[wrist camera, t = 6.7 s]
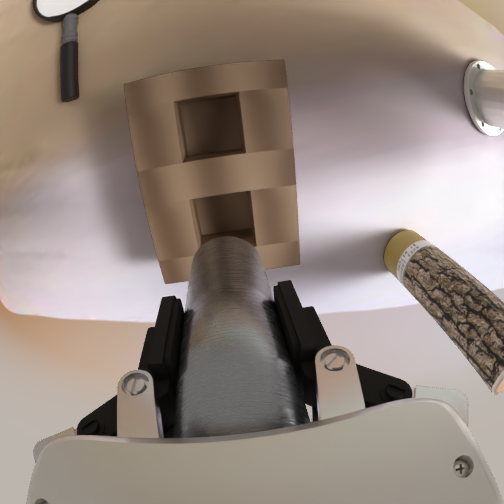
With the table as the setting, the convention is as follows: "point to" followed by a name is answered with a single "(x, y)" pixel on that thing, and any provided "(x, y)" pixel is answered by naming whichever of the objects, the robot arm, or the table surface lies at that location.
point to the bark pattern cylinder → (452, 302)
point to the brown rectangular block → (216, 161)
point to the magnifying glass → (66, 38)
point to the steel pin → (233, 349)
